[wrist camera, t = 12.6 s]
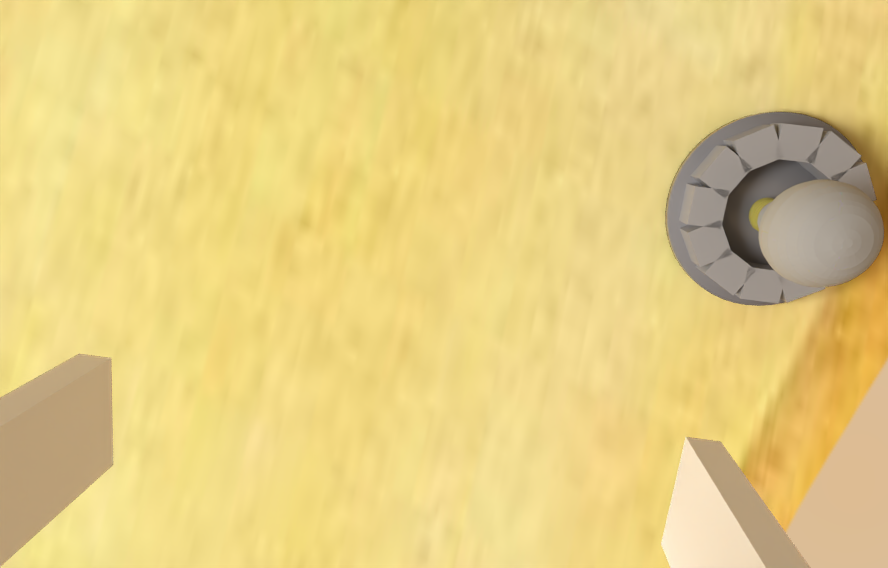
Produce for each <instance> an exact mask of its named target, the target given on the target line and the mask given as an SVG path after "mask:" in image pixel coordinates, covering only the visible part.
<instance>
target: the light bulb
mask: <svg viewBox="0 0 888 568" xmlns="http://www.w3.org/2000/svg"><path fill="white" fill-rule="evenodd" d="M749 221H750V224H751V225H752V227H753V228H754V229H756V230H757V231H759V244H760V248H761V251H762V253H763V255H764V257H765V259H766V260H767V262H768V263H769V265H770V266H771V267H772V268H773V269H774V270H775V271H776V272H777V273H778V274H779V275H781V276H782V277H784V278H786V279H788V280H790V281H792V282H794V283H797V284H799V285H803V286H807V287H828V286H835V285H839V284H842V283H845V282H847V281H850V280H852V279H853V278H855V277H857V276H859V275H860V274H862V273H863V272H864V271H865V270H866V269H868V268H869V267H870V265H871V264H872V263H873V262H874V260H875V259H876V258H877V256H878V254H879V252H880V250H881V247H882V244H883V239H884V226H883V220H882V217H881V214H880V212H879V210H878V208H877V206H876V205H875V203H874V202H873V201H872V200H871V199H870V198H869V197H868V196H867V195H866V194H865V193H864V192H863V191H861V190H860V189H858V188H857V187H855V186H852V185H850V184H847V183H843V182H839V181H834V180H827V179H820V180H812V181H808V182H804V183H800V184H797V185H795V186H792V187H790V188H788V189H786V190H785V191H783V192H782V193H781V194H779V195H778V196H777V197H776V198H775V199H773V198H762V199H759V200H758V201H756V202H755V203H754V204H753V205H752V207H751V208H750V211H749Z"/></svg>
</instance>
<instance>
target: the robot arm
mask: <svg viewBox="0 0 888 568" xmlns="http://www.w3.org/2000/svg"><path fill="white" fill-rule="evenodd" d="M112 465H113V427H112V372H111V358H107V357H100V356H92V355H85V354H78V355H76V356H74V357H72V358H70V359H69V360H67V361H65V362H63V363H62V364H60V365H58V366H56V367H54V368H53V369H51V370H49V371H47V372H45V373H44V374H42V375H40V376H38V377H37V378H35V379H33V380H31V381H29V382H28V383H26V384H24V385H22V386H20V387H19V388H17V389H15V390H13V391H11V392H10V393H8V394H6V395H4V396H3V397H1V398H0V566H2V565H3V564H4V563H5V562H6V561H7V560H8V559H9V558H10V557H12V556H13V555H14V554H15V553H16V552H17V551H18V550H19V549H20V548H22V547H23V546H24V545H25V544H26V543H27V542H28V541H29V540H30V539H31V538H33V537H34V536H35V535H36V534H37V533H38V532H39V531H40V530H41V529H43V528H44V527H45V526H46V525H47V524H48V523H49V522H50V521H51V520H53V519H54V518H55V517H56V516H57V515H58V514H59V513H60V512H61V511H63V510H64V509H65V508H66V507H67V506H68V505H69V504H70V503H71V502H73V501H74V500H75V499H76V498H77V497H78V496H79V495H80V494H81V493H83V492H84V491H85V490H86V489H87V488H88V487H89V486H90V485H91V484H92V483H94V482H95V481H96V480H97V479H98V478H99V477H100V476H101V475H102V474H104V473H105V472H106V471H107V470H108V469H109V468H110V467H111V466H112ZM661 545H662V548H663V550H664V553H665V555H666V558H667V560H668V563H669V565H670V568H810V566H809V565H808V564H807V562H806V561H805V559H804V558H803V557H802V555H801V554H800V552H799V551H798V549H797V548H796V547H795V545H794V544H793V543H792V541H791V540H790V538H789V537H788V535H787V534H786V533H785V531H784V530H783V528H782V527H781V526H780V524H779V523H778V521H777V520H776V519H775V517H774V516H773V514H772V513H771V512H770V510H769V509H768V507H767V506H766V505H765V503H764V502H763V500H762V499H761V498H760V496H759V495H758V493H757V492H756V491H755V489H754V488H753V486H752V485H751V484H750V482H749V481H748V479H747V478H746V476H745V475H744V474H743V472H742V471H741V469H740V468H739V467H738V465H737V464H736V462H735V461H734V460H733V458H732V457H731V455H730V454H729V453H728V451H727V450H726V448H725V447H724V446H723V444H722V443H721V442H719V441H712V440H705V439H697V438H690V437H686V438H685V442H684V447H683V451H682V455H681V460H680V464H679V468H678V473H677V477H676V481H675V486H674V490H673V494H672V499H671V503H670V507H669V512H668V516H667V521H666V525H665V529H664V534H663V538H662V542H661Z"/></svg>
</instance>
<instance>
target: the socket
mask: <svg viewBox="0 0 888 568" xmlns="http://www.w3.org/2000/svg"><path fill="white" fill-rule="evenodd" d="M860 157H861V155H860V154H859V153H858V152H857V151H856V149H855V148H854V147H853V146H852V144H851V143H850V142H849V141H848V140H847V139H846V138H845V137H844V136H843V135H842V134H841V133H840V132H839V131H837V130H836V129H834V128H833V127H832V126H830V125H828V124H826V123H824V122H822V121H820V120H818V119H816V118H813V117H810V116H807V115H802V114H797V113H789V112H769V113H759V114H754V115H749V116H745V117H742V118H740V119H737V120H734V121H732V122H730V123H728V124H725V125H723V126H721V127H720V128H718V129H717V130H715V131H714V132H712V133H710V134H709V135H708V136H707V137H705V138H704V139H703V140H702V141H701V142H699V143H698V144H697V146H696V147H695V148H694V149H693V150H692V151H691V152H690V153H689V154H688V156H687V157H686V158H685V160H684V161H683V162H682V164H681V166H680V168H679V169H678V171H677V173H676V175H675V177H674V179H673V182H672V184H671V187H670V190H669V194H668V198H667V204H666V211H665V224H666V231H667V237H668V240H669V244H670V247H671V249H672V252H673V254H674V256H675V258H676V260H677V261H678V263H679V264H680V266H681V267H682V269H683V270H684V271H685V272H686V273H687V275H688V276H689V277H690V278H692V279H693V280H694V281H695V282H696V283H697V284H698V285H700V286H701V287H702V288H704V289H705V290H707V291H708V292H710V293H711V294H714V295H716V296H718V297H720V298H722V299H725V300H728V301H731V302H734V303H739V304H744V305H757V306H759V305H773V304H779V303H784V302H790V301H793V300H796V299H798V298H801V297H804V296H807V295H809V294H812V293H815V292H818V291H820V290H823V289H825V287H807V286H803V285H799V284H797V283H794V282H792V281H790V280H788V279H786V278H784V277H782V276H781V275H779V274H778V273H777V272H776V271H775V270H774V269H773V268H772V267H771V266H770V265H769V263H768V262H767V260H766V259H765V257H764V255H763V253H762V251H761V248H760V244H759V231H757V230H756V229H754V228H753V227H752V225H751V224H750V221H749V211H750V208H751V207H752V205H753V204H754V203H755V202H756V201H758V200H759V199H762V198H773V199H775V198H776V197H777V196H778V195H779V194H781V193H782V192H783V191H785V190H786V189H788V188H790V187H792V186H795V185H797V184H800V183H804V182H808V181H812V180H820V179H827V180H834V181H839V182H843V183H847V184H850V185H852V186H855V187H857V188H858V189H860V190H861V191H863V192H864V193H865V194H866V195H867V196H868V197H869V198H870V199H871V200H872V201H874V200H877V199H876V195H875V192H874V189H873V185H872V182H871V178H870V175H869V171H868V168H867V164H866V163H864V162H862V160H861V158H860Z"/></svg>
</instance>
